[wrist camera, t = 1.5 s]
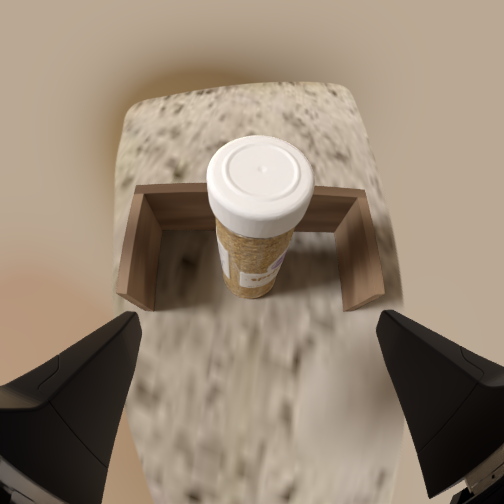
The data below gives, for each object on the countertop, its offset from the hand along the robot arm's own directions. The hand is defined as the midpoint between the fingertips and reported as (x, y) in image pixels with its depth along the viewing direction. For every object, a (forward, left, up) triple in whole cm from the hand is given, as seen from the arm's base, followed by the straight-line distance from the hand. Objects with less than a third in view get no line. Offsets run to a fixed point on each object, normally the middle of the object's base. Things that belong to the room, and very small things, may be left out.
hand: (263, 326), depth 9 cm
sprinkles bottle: (+4, +4, -13) cm, 14 cm away
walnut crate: (+4, +4, -12) cm, 14 cm away
